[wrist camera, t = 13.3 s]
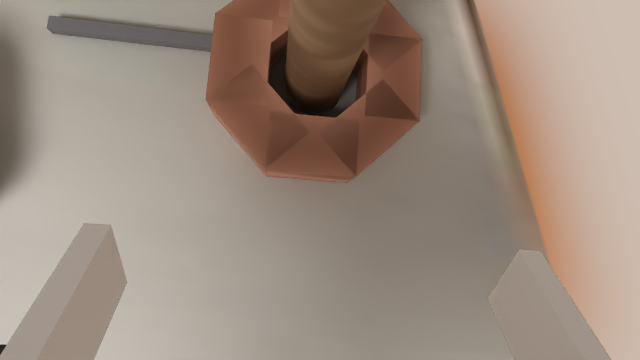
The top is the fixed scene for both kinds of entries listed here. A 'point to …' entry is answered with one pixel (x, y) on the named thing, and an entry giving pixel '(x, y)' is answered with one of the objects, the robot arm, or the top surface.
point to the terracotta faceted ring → (307, 130)
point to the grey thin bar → (129, 33)
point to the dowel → (325, 49)
